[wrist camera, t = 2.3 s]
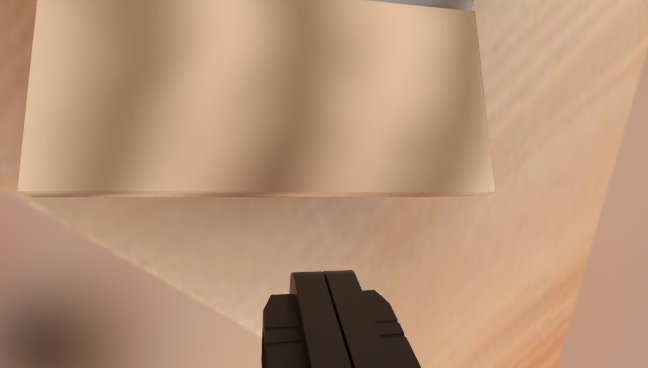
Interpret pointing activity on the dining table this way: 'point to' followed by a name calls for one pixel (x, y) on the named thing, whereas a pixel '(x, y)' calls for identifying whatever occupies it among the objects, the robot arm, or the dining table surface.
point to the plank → (254, 100)
